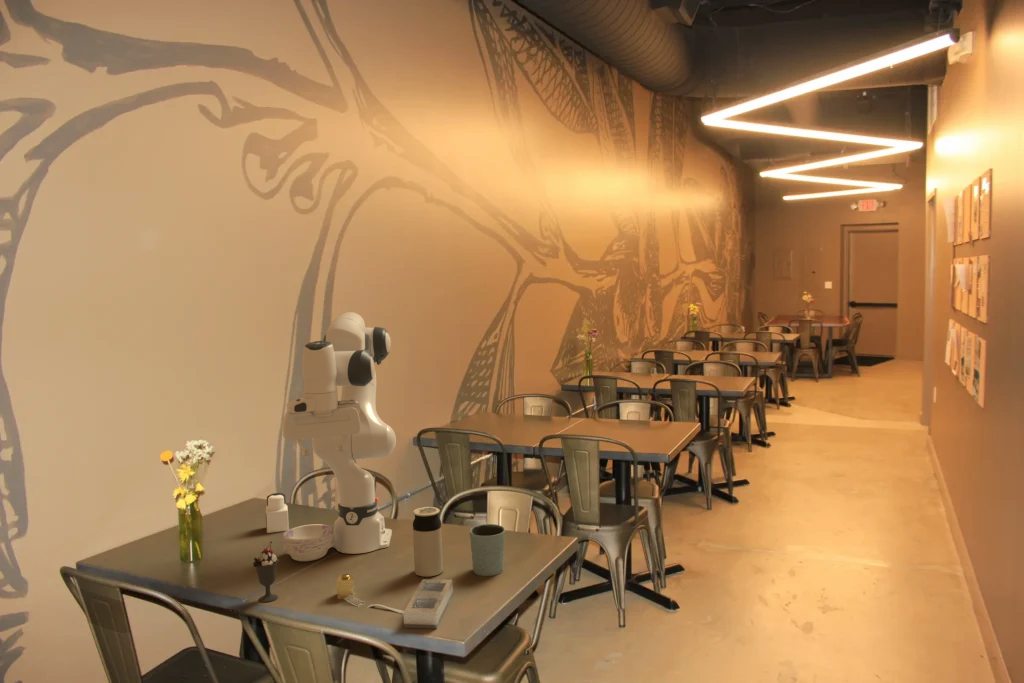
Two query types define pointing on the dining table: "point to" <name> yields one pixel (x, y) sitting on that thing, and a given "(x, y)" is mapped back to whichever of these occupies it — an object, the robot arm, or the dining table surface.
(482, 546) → the green cup
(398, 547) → the dining table surface
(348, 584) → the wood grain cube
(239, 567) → the dining table surface
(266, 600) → the sundae
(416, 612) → the tan windowed box
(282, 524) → the medicine bottle
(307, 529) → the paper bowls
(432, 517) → the travel mug
